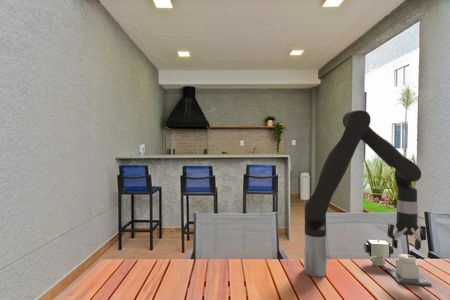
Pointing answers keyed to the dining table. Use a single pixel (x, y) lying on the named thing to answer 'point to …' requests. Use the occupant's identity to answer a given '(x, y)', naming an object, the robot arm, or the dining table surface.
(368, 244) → the pneumatic valve
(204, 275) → the dining table surface
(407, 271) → the knob
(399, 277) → the shaft mount
